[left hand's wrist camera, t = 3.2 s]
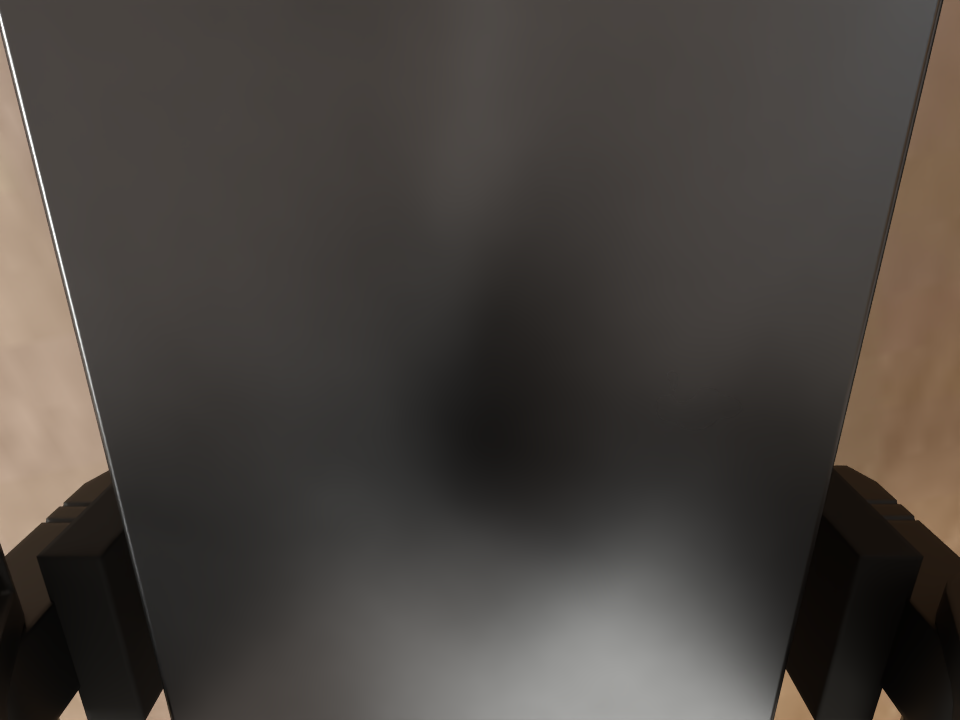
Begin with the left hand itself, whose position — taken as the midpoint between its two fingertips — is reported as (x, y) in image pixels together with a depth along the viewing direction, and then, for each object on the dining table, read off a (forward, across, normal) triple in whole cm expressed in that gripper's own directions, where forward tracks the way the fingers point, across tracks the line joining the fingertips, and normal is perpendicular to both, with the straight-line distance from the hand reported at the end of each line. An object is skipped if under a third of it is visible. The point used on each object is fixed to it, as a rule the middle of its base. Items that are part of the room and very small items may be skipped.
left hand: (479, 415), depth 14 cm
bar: (+1, 0, -9) cm, 9 cm away
